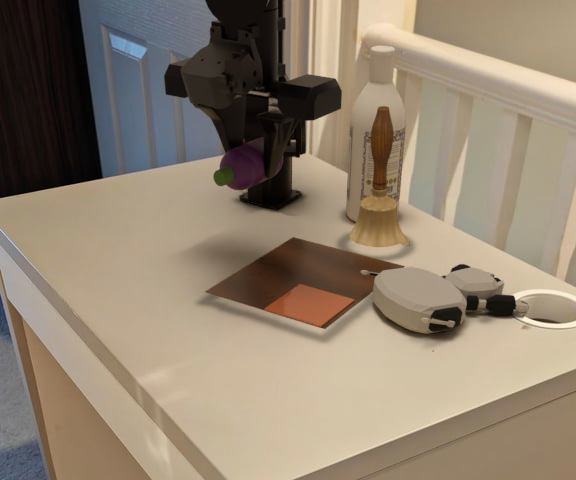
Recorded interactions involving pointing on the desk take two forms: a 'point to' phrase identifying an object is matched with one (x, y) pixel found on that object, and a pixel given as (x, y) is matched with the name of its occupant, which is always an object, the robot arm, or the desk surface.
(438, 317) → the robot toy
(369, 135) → the bath foam
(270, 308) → the corner square
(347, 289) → the board
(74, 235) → the desk surface
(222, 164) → the eggplant
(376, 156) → the hand bell
